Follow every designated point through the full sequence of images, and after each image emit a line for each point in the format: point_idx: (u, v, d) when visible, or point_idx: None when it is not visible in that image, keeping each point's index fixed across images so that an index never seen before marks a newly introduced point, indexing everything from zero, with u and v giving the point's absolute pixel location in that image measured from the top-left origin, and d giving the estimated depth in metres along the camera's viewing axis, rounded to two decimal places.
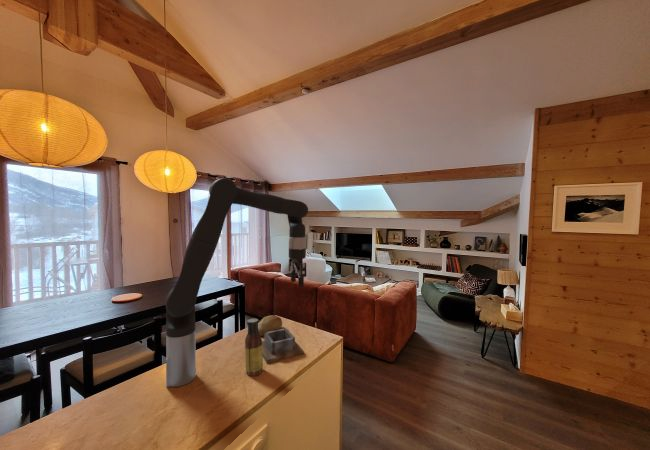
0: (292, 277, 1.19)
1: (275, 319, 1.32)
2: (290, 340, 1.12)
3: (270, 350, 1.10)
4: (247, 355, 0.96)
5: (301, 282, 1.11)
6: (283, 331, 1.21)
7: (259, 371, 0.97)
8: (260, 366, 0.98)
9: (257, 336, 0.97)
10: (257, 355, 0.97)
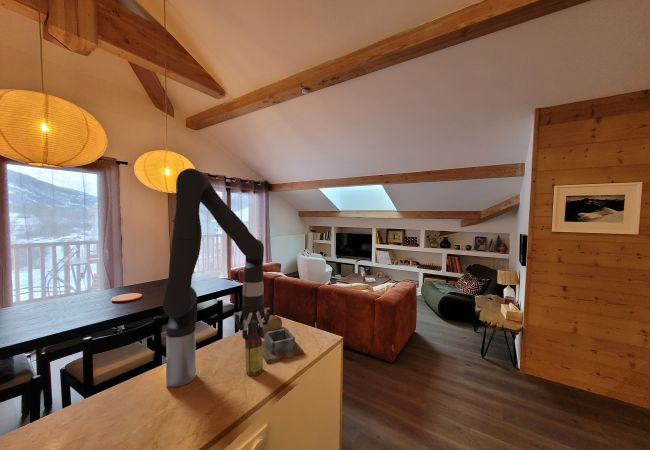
0: None
1: (275, 319, 1.32)
2: (290, 340, 1.12)
3: (270, 350, 1.10)
4: (247, 355, 0.96)
5: None
6: (283, 331, 1.21)
7: (259, 371, 0.97)
8: (260, 366, 0.98)
9: (257, 336, 0.98)
10: (257, 355, 0.97)
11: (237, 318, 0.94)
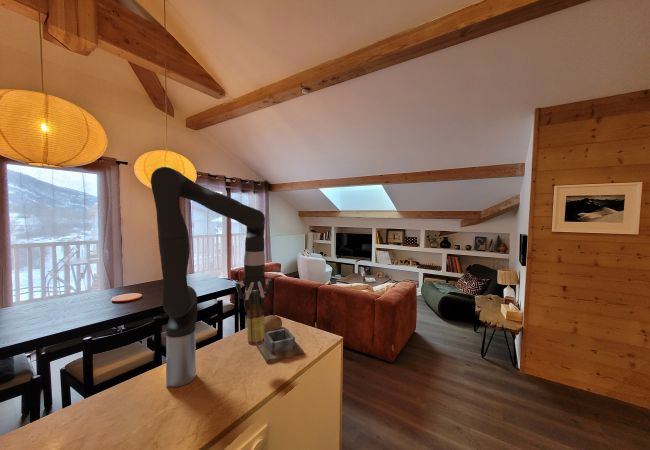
0: None
1: (275, 319, 1.32)
2: (290, 340, 1.12)
3: (270, 350, 1.10)
4: (248, 325, 0.96)
5: None
6: (283, 331, 1.21)
7: (261, 341, 0.97)
8: (262, 336, 0.98)
9: (259, 306, 0.97)
10: (258, 325, 0.96)
11: (238, 287, 0.94)
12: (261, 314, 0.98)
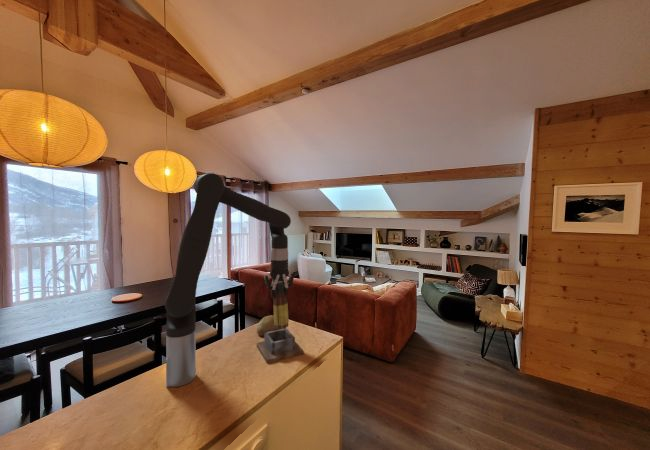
0: None
1: None
2: (290, 340, 1.12)
3: (270, 350, 1.10)
4: (275, 311, 1.13)
5: None
6: (283, 331, 1.21)
7: (286, 325, 1.14)
8: (287, 321, 1.14)
9: (283, 295, 1.14)
10: (284, 311, 1.13)
11: (267, 279, 1.11)
12: (286, 302, 1.14)
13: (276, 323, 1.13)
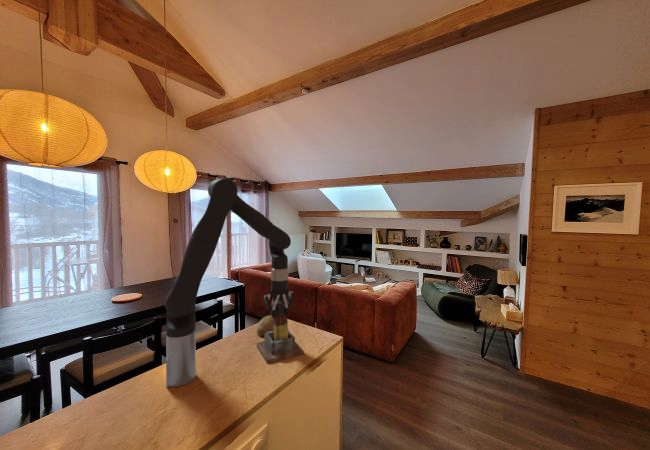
0: None
1: None
2: (290, 340, 1.12)
3: (270, 350, 1.10)
4: (275, 331, 1.13)
5: None
6: None
7: None
8: None
9: (283, 315, 1.14)
10: (284, 331, 1.13)
11: (267, 299, 1.11)
12: (286, 322, 1.14)
13: None
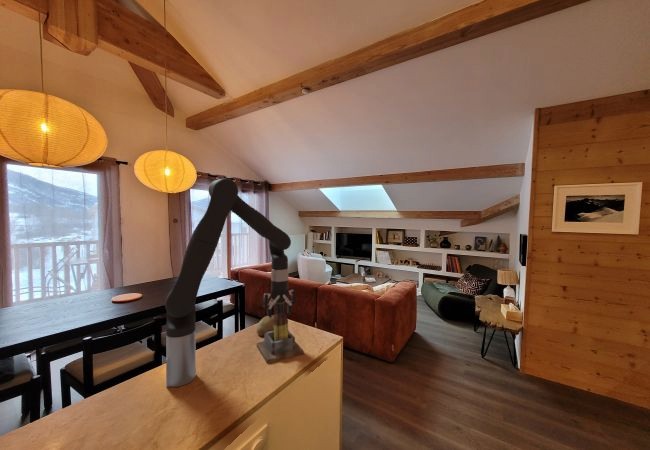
0: None
1: None
2: (290, 340, 1.12)
3: (270, 350, 1.10)
4: (275, 331, 1.13)
5: None
6: None
7: None
8: None
9: (284, 315, 1.14)
10: (284, 331, 1.13)
11: (266, 298, 1.11)
12: (286, 322, 1.14)
13: None
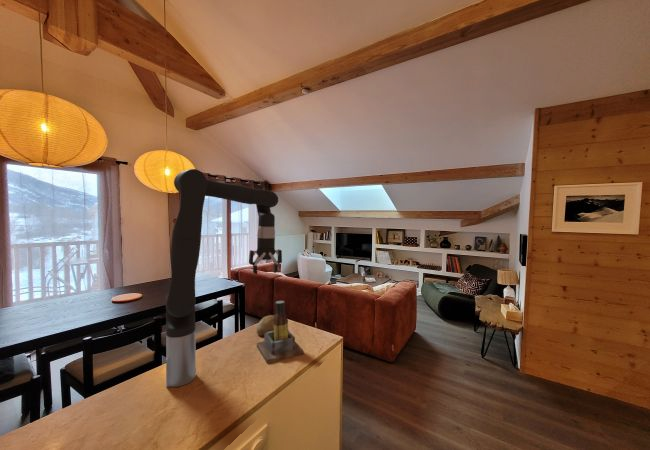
0: None
1: None
2: (290, 340, 1.12)
3: (270, 350, 1.10)
4: (275, 331, 1.13)
5: None
6: None
7: None
8: None
9: (284, 315, 1.14)
10: (284, 331, 1.13)
11: (252, 254, 1.12)
12: (286, 322, 1.14)
13: None
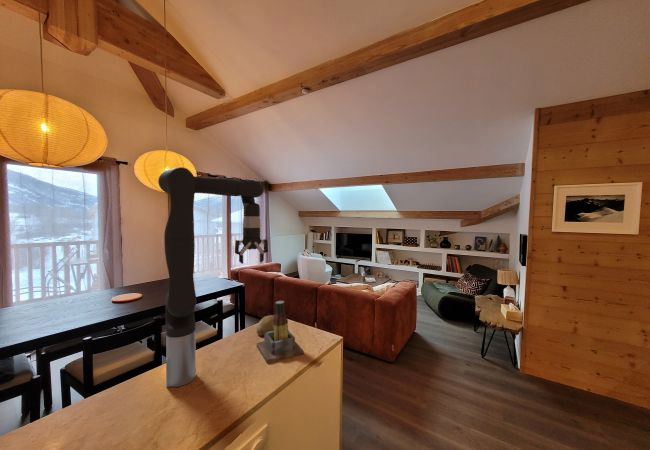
0: None
1: None
2: (290, 340, 1.12)
3: (270, 350, 1.10)
4: (275, 331, 1.13)
5: None
6: None
7: None
8: None
9: (284, 315, 1.14)
10: (284, 331, 1.13)
11: (237, 243, 1.13)
12: (286, 322, 1.14)
13: None
